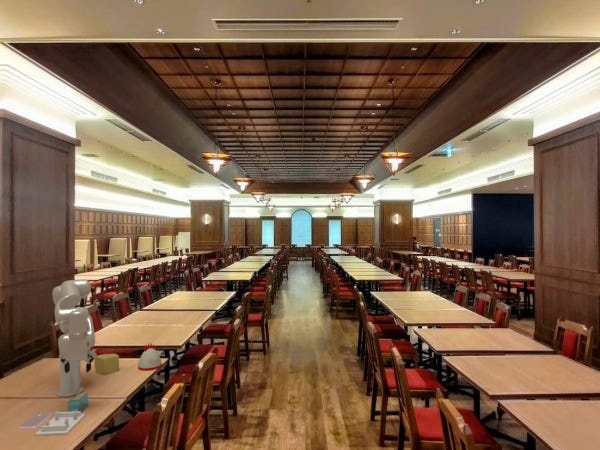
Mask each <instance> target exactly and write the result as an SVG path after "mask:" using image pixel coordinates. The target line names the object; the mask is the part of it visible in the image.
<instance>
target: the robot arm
mask: <svg viewBox="0 0 600 450" xmlns="http://www.w3.org/2000/svg"><path fill="white" fill-rule="evenodd" d="M91 288H92V285H91V282H90V281H89V280H88V279H86V278H85V279H71V280H70V279H69V280H66V281H63V282H62V283H61V284H60V285H58V286H56V287H54V288H53V290H52V301H53V303H54V305H55V306H54V316H55V317H54V318H55V322H56V324H58V325H59V328H60V331H61V332H62V333H64V334H62V335H60V336H59V337H58V340H57V342H58V343H57V344H58V350H59V355H58V359H59V368H60V369H59V379H60V380H59V381H60V382H59V385H60V386H59V390H58V391H57V392H56V396H58V397H61V398H62V397H63V398H64V397H65V398H66V397H74V396H75V395H77V394H82V393H84V389H85V388H84V386H82V385H81V384H82V382H83V379H82V378H81V377H82V376H81V372H82V371H81V369H82V368H81V361H85V362H86V364H85V369H86V370H85V372H86V373H89V372H91V370H92V362H93V361H94V360H95V357H96V356H98V353H96V352H95V351H92V350H91V348H93V347H94V346H95V344H96V333H95V328H94V327H95V326H94V321H93V317H92V315H91V314H90V313H89V310H88V309H87V308H86V307H83V306H80V307H79V306H78V305H79V304H80V303H81V300H82V299H85V298H87V297H88V296H89V295H90V293H91V290H92V289H91ZM76 306H78V307H76ZM91 356H92V357H91Z"/></svg>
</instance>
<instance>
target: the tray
mask: <svg viewBox="0 0 600 450" xmlns="http://www.w3.org/2000/svg"><path fill="white" fill-rule="evenodd" d="M86 415H87V413H82V412H81V411H77V410H75V411H73V412H68V411H59V410H58V411H54V417H53V418H51V419H49V418H47V419H46V420H45V425H41V426H40V429H39V430H38V431H37V432H36V433H34V436H35V437H43V436H59V435H60V436H61V435H63V436H64V435H68V434H69V433H70V432H71V431H72V430H73V429H74V428H75V427H76V426H77V425H78V424H79V423H80V422H81V421H82V420H83V419H84V418H85V417H86Z"/></svg>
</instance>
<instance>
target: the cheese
mask: <svg viewBox="0 0 600 450" xmlns="http://www.w3.org/2000/svg"><path fill="white" fill-rule="evenodd" d="M93 361H94V363H93V364H94V370H95V373H97V374H99V375H102V376H106V375H107V376H108V375H110V374H113V373H117V372H119V371H120V357H119V355H118V354H116V353H104V354H99V355H98V354H97V355H96V357H95V359H94V360H93Z"/></svg>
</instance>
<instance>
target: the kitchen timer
mask: <svg viewBox="0 0 600 450" xmlns="http://www.w3.org/2000/svg"><path fill="white" fill-rule="evenodd" d="M142 348H143V350H144V351H143V352H142V354H141V355H140V357H139V360H138V364H137V367H138V368H137V369H138V370H139V371H143V372H144V371H145V372H150V371H155V370H158V369H160V368H162V359H161V356H160V354H159V352H158V351H157V350H156V349H157V345H155V344H152V343H147V344H145V345H144V346H143V347H142Z"/></svg>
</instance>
